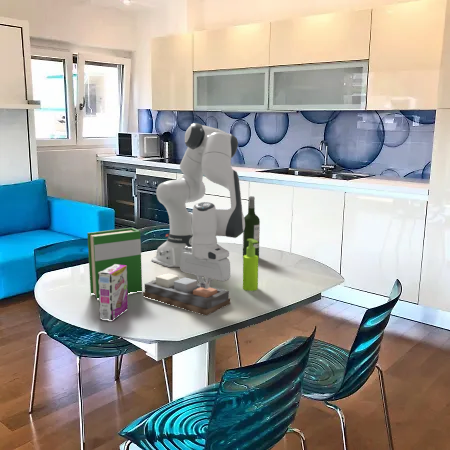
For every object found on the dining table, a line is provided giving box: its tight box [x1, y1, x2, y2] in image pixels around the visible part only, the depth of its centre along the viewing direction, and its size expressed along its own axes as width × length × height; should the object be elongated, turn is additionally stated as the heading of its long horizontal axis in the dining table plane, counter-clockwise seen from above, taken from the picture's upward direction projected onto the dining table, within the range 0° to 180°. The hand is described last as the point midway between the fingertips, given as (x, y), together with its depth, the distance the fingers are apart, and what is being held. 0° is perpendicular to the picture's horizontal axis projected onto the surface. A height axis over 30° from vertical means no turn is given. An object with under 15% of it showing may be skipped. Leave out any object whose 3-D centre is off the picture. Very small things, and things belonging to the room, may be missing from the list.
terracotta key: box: [193, 286, 218, 298], centre depth 172 cm, size 6×6×4 cm
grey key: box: [174, 277, 198, 293], centre depth 177 cm, size 6×6×4 cm
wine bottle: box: [242, 195, 261, 260], centre depth 232 cm, size 8×8×30 cm
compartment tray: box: [142, 279, 231, 316], centre depth 178 cm, size 30×14×5 cm, turn 54°
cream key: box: [155, 272, 180, 288], centre depth 182 cm, size 6×6×4 cm
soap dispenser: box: [242, 239, 259, 292], centre depth 189 cm, size 6×7×20 cm
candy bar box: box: [98, 264, 129, 320], centre depth 162 cm, size 11×5×16 cm, turn 163°
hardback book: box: [86, 227, 143, 298], centre depth 183 cm, size 18×7×24 cm, turn 123°
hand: (204, 287), depth 172 cm, fingers closed
